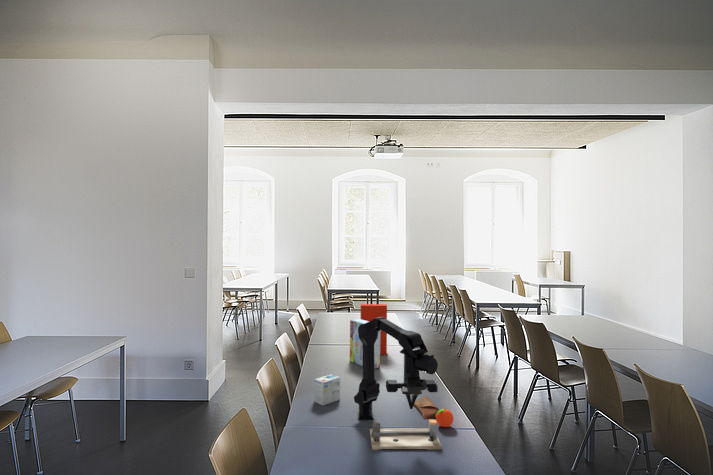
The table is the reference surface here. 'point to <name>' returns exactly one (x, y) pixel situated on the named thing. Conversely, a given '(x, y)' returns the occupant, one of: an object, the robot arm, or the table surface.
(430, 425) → the slider
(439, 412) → the clementine
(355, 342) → the snack box
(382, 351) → the file binder
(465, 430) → the table surface
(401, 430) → the board
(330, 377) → the light bulb box
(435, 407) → the sunglasses case
